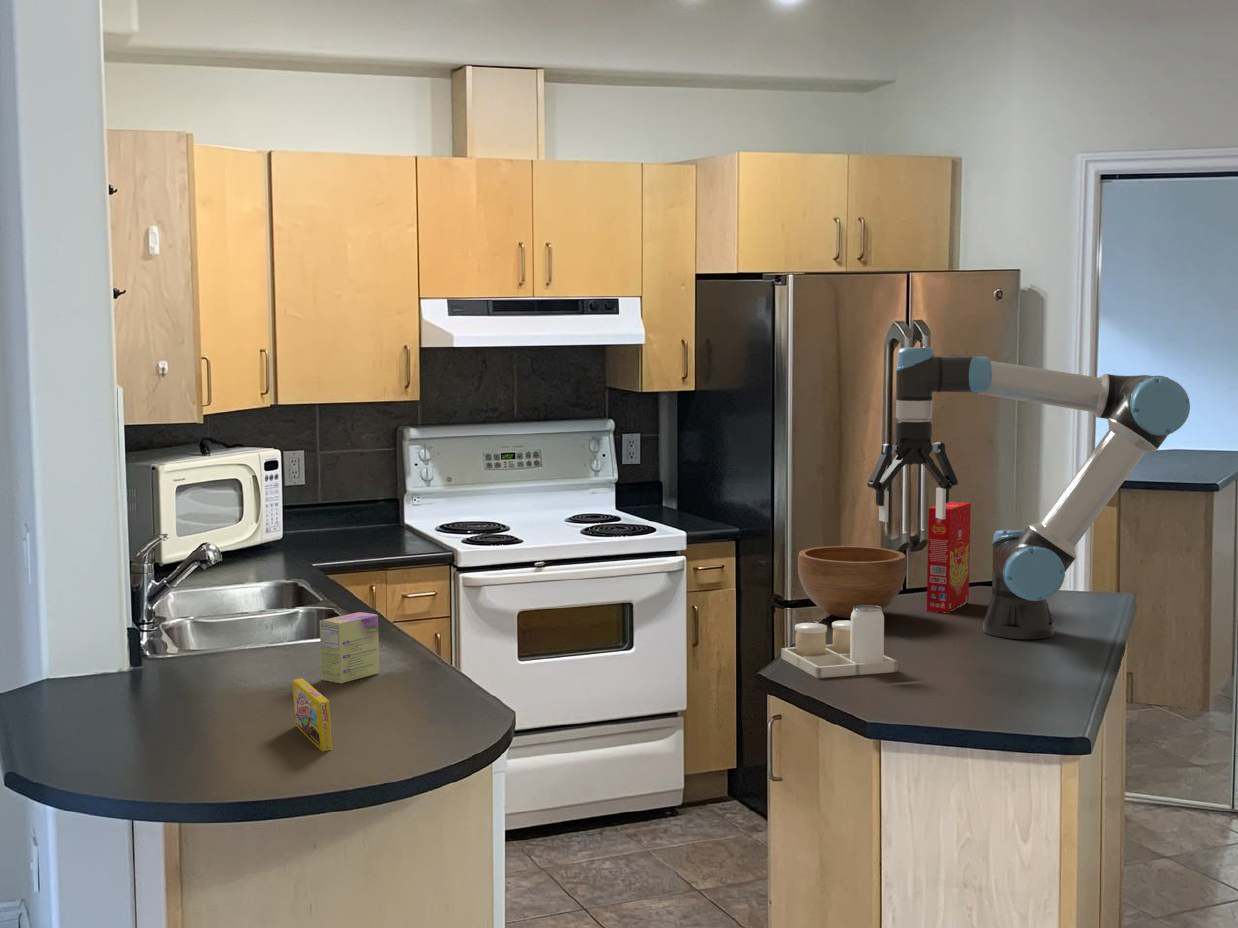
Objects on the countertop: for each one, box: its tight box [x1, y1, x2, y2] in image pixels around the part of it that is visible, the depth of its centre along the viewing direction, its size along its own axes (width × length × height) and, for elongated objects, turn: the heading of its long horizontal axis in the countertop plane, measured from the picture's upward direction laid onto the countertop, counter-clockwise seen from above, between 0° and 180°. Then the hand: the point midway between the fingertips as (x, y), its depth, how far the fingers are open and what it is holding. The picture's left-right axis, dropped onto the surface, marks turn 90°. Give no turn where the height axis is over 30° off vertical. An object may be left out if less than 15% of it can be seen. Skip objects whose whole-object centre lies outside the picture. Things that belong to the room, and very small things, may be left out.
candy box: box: [292, 677, 333, 752], centre depth 223 cm, size 16×2×8 cm, turn 28°
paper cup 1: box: [794, 622, 828, 657], centre depth 273 cm, size 6×6×7 cm
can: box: [850, 605, 885, 663], centre depth 268 cm, size 6×6×12 cm
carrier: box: [780, 643, 899, 679], centre depth 271 cm, size 17×17×2 cm
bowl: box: [797, 545, 907, 620], centre depth 318 cm, size 25×25×15 cm
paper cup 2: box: [831, 619, 851, 654], centre depth 276 cm, size 6×6×7 cm
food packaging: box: [926, 501, 972, 614], centre depth 329 cm, size 15×5×25 cm, turn 147°
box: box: [319, 611, 380, 684], centre depth 263 cm, size 10×6×12 cm, turn 145°
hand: (912, 520), depth 289 cm, fingers open, 13 cm apart
